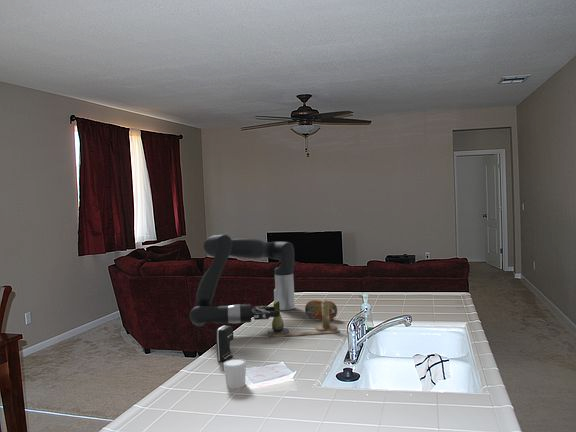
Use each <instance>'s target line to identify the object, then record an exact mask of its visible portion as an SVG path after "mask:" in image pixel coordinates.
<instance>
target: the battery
mask: <svg viewBox="0 0 576 432" xmlns="http://www.w3.org/2000/svg"><path fill="white" fill-rule="evenodd" d="M232 341H234V329H233V327H232V326H231V325H222V326H220V327H217V329H216V331H215V343H216V345H215V346H216V359H217V362H225V361H228V360H231V358H233V353H232V350H231V342H232Z"/></svg>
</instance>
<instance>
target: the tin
mask: <svg viewBox="0 0 576 432" xmlns="http://www.w3.org/2000/svg"><path fill="white" fill-rule="evenodd" d="M322 301H323V300H310V301H308V302H307V303H306V304H305V308H304V311H305V313H306V316H307V317H308V319H310V320H320V321H322ZM327 301H328V302H329V321H331V320H333V319H335V317H336V316H337V315H338V307H337V305H336V303H335V302H333V301H331V300H327Z"/></svg>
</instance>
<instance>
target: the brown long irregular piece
mask: <svg viewBox="0 0 576 432" xmlns="http://www.w3.org/2000/svg"><path fill="white" fill-rule="evenodd" d="M321 301H322V320H321V321H322V322H321V323H322V324H320V325H316V326H315V330H316V331H307V332H306V331H305V332H294V333H293V332H290V329H289V328H288V327H284V328H283V329H282V330H280V331H274V330H273V329H272V328H270V329H268V330H267V333H268V339H274V338H286V337H287V338H288V337H301V336H302V337H303V336H319V335H329V334H330V335H331V334H341V331H340V329H338V327H337V325H333V324H330V320H329V302H328V301H329V300H328V299H325V300H321ZM289 332H290V333H289Z"/></svg>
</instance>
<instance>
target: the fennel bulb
mask: <svg viewBox="0 0 576 432" xmlns="http://www.w3.org/2000/svg"><path fill="white" fill-rule="evenodd" d="M273 307H274V311H279V313H280V316H279V317H272V318H273V319H272V322H271V329H273V330H274V331H280V330H282V329H283V328H285V327H284V326H285V323H284V320H283V317H282V315H281V310H280V304H279V301H277V302H275V303H274V302H273Z"/></svg>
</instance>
